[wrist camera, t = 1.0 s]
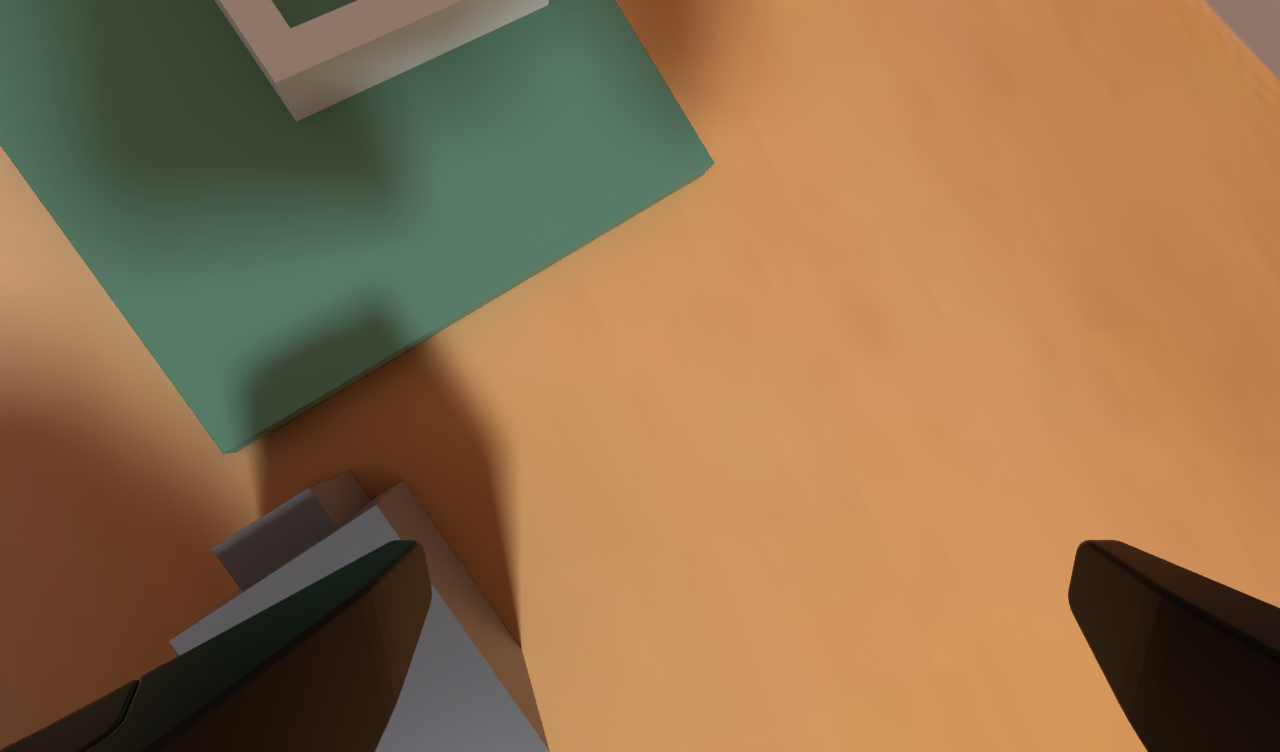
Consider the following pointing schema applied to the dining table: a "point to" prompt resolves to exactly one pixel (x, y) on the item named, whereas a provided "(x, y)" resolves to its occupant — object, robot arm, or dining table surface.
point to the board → (327, 170)
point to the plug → (451, 636)
